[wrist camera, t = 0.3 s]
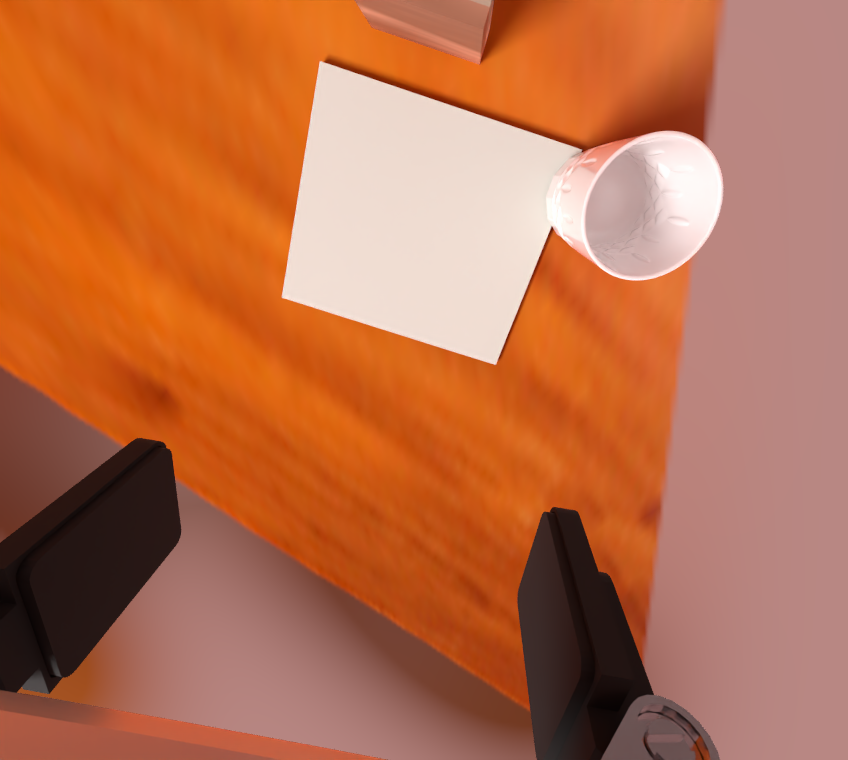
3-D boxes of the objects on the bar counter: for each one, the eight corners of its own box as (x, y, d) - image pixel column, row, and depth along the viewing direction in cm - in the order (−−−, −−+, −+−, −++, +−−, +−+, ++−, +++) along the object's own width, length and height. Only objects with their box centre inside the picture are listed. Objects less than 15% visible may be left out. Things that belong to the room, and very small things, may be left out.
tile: (378, -8, 30) (350, -68, 23) (489, 30, 30) (496, -16, 23) (371, 27, 31) (342, -20, 24) (479, 64, 31) (483, 29, 24)
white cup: (533, 153, 32) (578, 148, 23) (642, 129, 32) (731, 115, 23) (541, 259, 36) (584, 292, 27) (640, 240, 35) (717, 266, 26)
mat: (322, 62, 32) (319, 60, 32) (580, 150, 33) (582, 149, 32) (284, 295, 40) (281, 297, 39) (495, 362, 40) (495, 364, 40)
